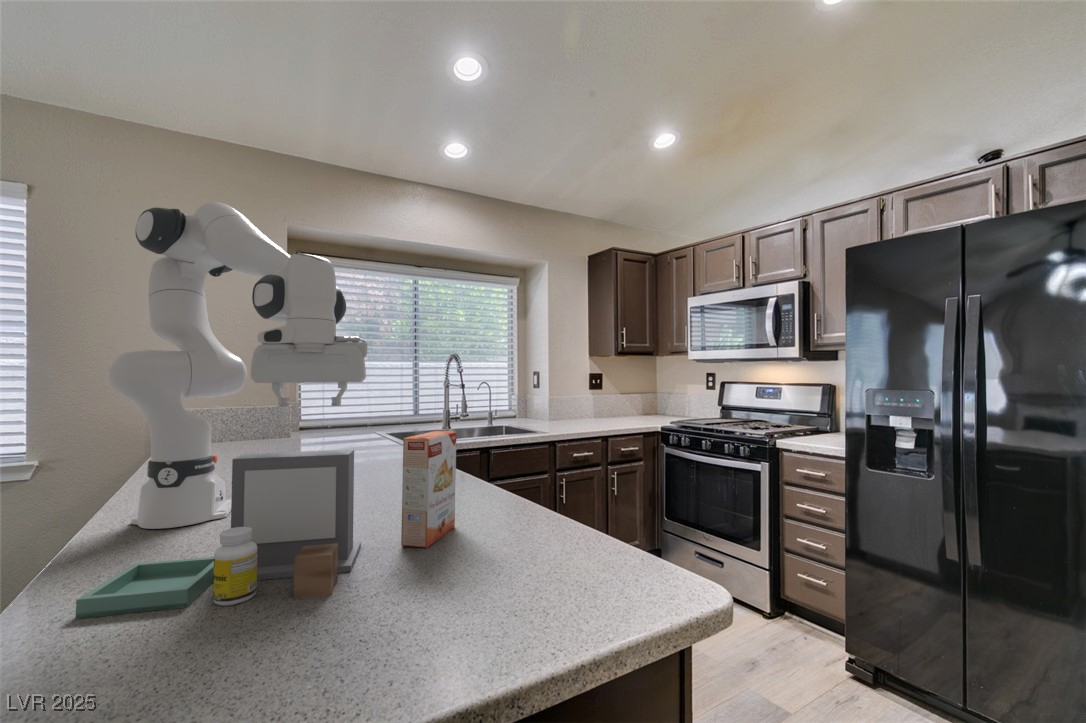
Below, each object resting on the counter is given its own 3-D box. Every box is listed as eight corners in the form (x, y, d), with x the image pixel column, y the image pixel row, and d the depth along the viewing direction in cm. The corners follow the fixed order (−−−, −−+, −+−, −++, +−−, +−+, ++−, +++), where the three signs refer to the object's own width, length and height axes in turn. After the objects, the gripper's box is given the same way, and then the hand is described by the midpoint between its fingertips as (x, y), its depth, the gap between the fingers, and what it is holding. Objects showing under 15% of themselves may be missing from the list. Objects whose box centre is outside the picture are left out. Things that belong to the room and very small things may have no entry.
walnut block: (302, 585, 73) (303, 546, 73) (337, 581, 74) (337, 543, 75) (293, 599, 68) (294, 557, 69) (330, 595, 69) (331, 554, 70)
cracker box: (429, 549, 88) (429, 438, 89) (399, 547, 89) (400, 437, 90) (457, 526, 102) (457, 430, 103) (431, 525, 103) (432, 430, 104)
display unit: (243, 556, 85) (246, 451, 86) (360, 546, 90) (362, 447, 91) (214, 584, 73) (217, 462, 74) (350, 571, 78) (352, 456, 79)
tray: (134, 579, 75) (135, 563, 76) (225, 570, 79) (226, 555, 79) (75, 618, 63) (76, 599, 63) (187, 607, 66) (187, 589, 66)
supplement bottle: (208, 598, 69) (210, 530, 69) (250, 586, 72) (252, 522, 73) (218, 611, 65) (219, 539, 65) (261, 597, 69) (263, 530, 69)
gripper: (369, 338, 98) (368, 404, 97) (259, 336, 93) (258, 406, 92) (365, 335, 91) (364, 406, 91) (248, 333, 87) (246, 408, 86)
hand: (310, 406), depth 91 cm, fingers open, 8 cm apart
